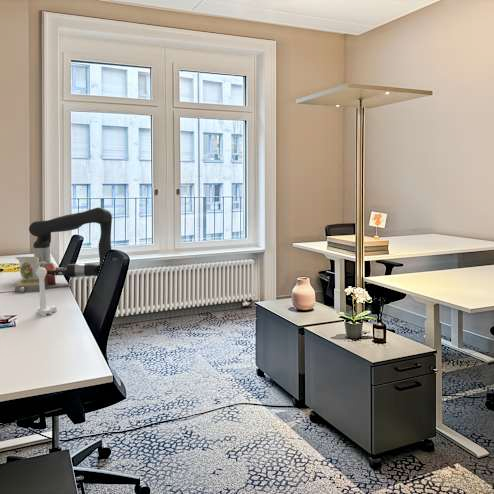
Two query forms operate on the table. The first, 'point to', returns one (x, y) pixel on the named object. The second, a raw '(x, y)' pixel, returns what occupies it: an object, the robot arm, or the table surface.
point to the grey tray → (29, 285)
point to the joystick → (43, 294)
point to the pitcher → (29, 267)
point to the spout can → (49, 278)
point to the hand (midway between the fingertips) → (44, 271)
